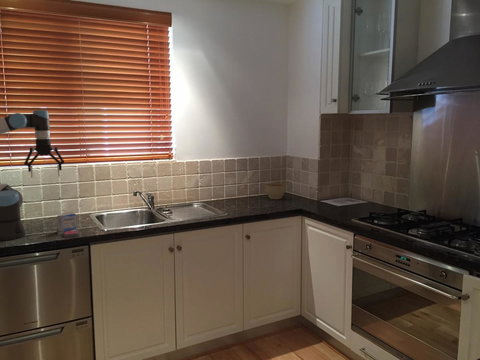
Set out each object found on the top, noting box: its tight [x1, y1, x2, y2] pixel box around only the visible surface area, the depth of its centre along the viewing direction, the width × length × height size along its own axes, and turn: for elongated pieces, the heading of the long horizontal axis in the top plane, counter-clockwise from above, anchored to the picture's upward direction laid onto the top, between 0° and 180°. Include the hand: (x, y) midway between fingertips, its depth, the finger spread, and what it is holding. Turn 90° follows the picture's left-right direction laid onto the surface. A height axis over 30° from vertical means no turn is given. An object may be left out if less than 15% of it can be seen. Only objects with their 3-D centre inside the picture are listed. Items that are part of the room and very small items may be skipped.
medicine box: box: [57, 212, 77, 232], centre depth 227 cm, size 8×4×9 cm, turn 145°
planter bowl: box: [264, 182, 287, 200], centre depth 317 cm, size 16×16×11 cm
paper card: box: [57, 225, 78, 235], centre depth 227 cm, size 10×13×1 cm
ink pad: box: [63, 229, 79, 238], centre depth 218 cm, size 7×7×2 cm
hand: (45, 176), depth 231 cm, fingers open, 13 cm apart
